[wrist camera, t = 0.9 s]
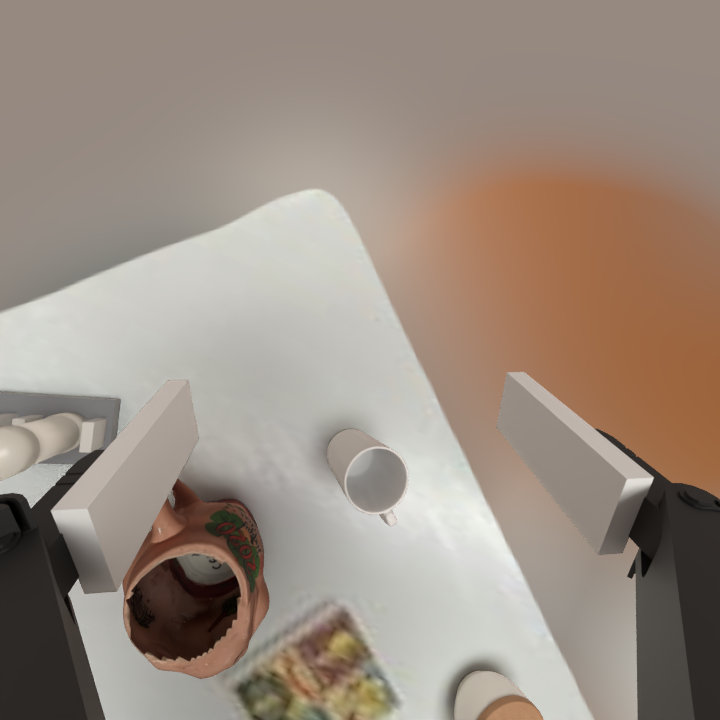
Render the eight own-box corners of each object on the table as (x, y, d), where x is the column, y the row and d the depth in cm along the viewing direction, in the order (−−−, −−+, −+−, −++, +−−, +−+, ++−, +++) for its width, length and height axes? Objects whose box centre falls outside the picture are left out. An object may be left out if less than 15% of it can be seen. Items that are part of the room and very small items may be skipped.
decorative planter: (115, 483, 41) (40, 542, 27) (217, 428, 43) (196, 457, 30) (203, 627, 43) (174, 747, 29) (295, 566, 46) (308, 650, 32)
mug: (316, 439, 46) (333, 464, 35) (363, 418, 48) (394, 434, 36) (345, 509, 47) (371, 556, 36) (390, 486, 49) (429, 523, 37)
